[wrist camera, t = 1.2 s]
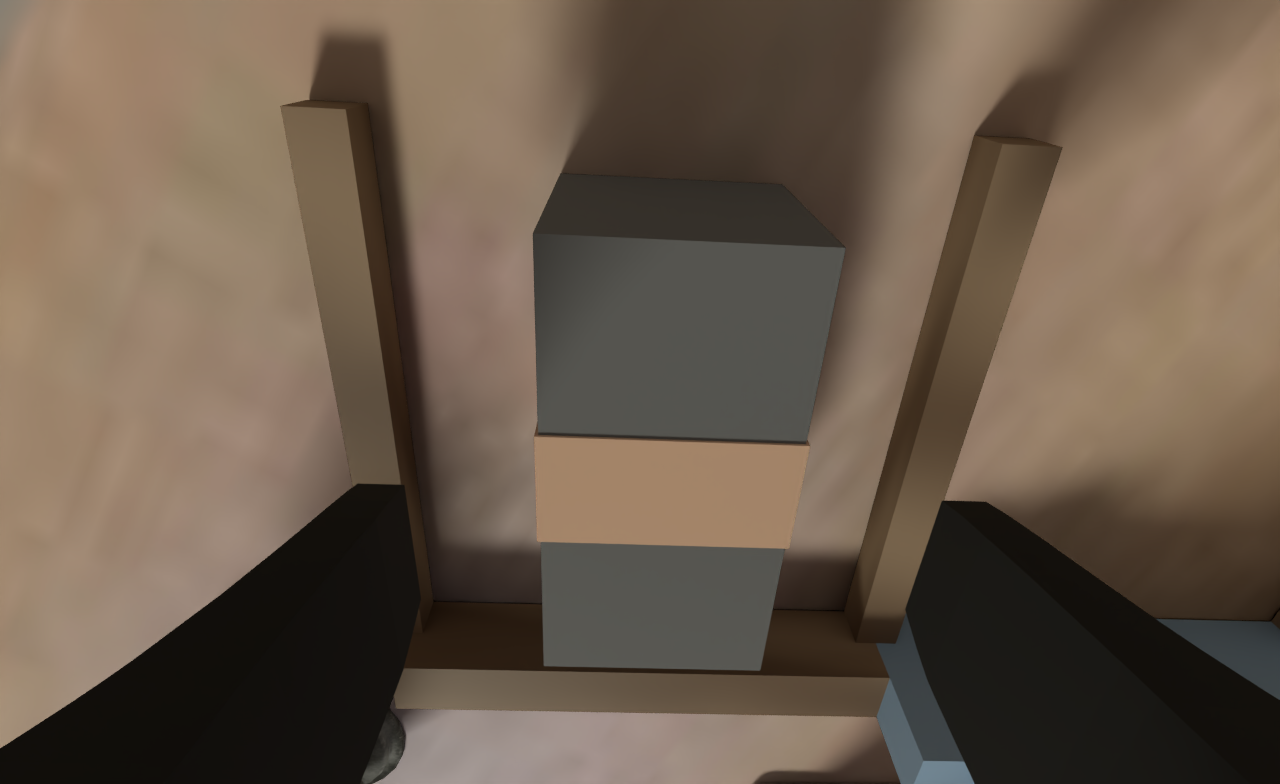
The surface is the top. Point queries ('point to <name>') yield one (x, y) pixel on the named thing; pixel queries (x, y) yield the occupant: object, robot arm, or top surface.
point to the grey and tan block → (672, 413)
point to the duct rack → (797, 640)
